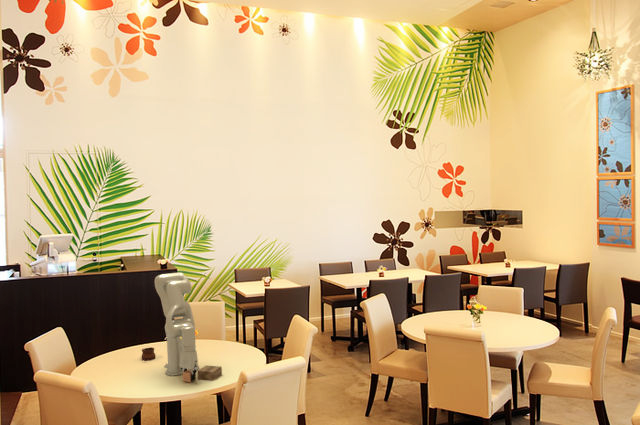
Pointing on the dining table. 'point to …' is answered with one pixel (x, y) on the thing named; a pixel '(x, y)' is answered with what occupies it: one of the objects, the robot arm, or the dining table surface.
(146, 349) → the brown pouch
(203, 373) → the block
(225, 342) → the dining table surface
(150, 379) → the dining table surface
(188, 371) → the terracotta cube
